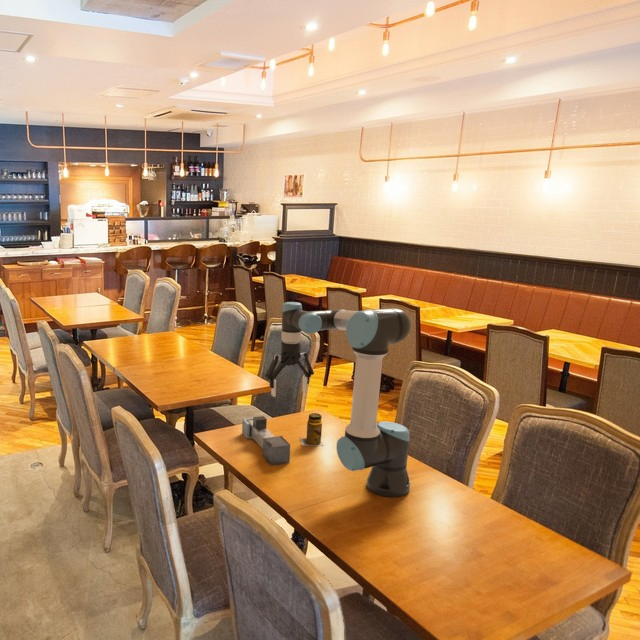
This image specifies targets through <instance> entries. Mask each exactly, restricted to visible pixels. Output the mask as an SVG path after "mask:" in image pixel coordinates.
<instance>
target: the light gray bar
mask: <svg viewBox="0 0 640 640" xmlns="http://www.w3.org/2000/svg"><path fill="white" fill-rule="evenodd" d="M252 418H253V420H249V421H248V423H249V424H250V433H249V434H250V436H251V437H252V438H251V439H252V440H254V442H256V444H257V445H259V447H260V448H261V449H262V450H263V438H269V437H276V436H275V435H274V434H273V433H272V432H271V431H270V430H269V429H268V428H267V423H268V422H267V420H268V419H267V418H266V417H265V415H263V416H262V415H261V416H254V417H252Z"/></svg>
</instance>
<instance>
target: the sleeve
mask: <svg viewBox="0 0 640 640" xmlns="http://www.w3.org/2000/svg"><path fill="white" fill-rule="evenodd" d="M262 458H264V460H265V461H266V462H267V463H268V464H269V465H270V466H271V467H273V466H279V465H285V464H290V459H291V444H290V443H289V441H288V440H286V439H285V438H284V436H282V435H278V436H275V437H269V438H263V449H262Z"/></svg>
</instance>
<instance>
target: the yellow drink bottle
mask: <svg viewBox="0 0 640 640" xmlns="http://www.w3.org/2000/svg"><path fill="white" fill-rule="evenodd" d="M306 422H307V425H306V438H304V437H300V443H301V446H302V447H303V446H304V447H305V446H307V447H311V446H312V447H322V446H324V445H323V443H322V431H323V430H322V427H323V421H322V414H320V413H316V412H313V413H309V414H308V419H307V421H306Z"/></svg>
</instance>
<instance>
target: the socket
mask: <svg viewBox="0 0 640 640" xmlns="http://www.w3.org/2000/svg"><path fill="white" fill-rule="evenodd" d="M249 420H253V417H249V418H243V419H242V425H241V427H242V431H241V434H242V435H243V437H245V438H246V440H249V439H250V440H251V439H253V438H252V437H251V436H250V434H249V433H250V424H249V423H248V421H249Z"/></svg>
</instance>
